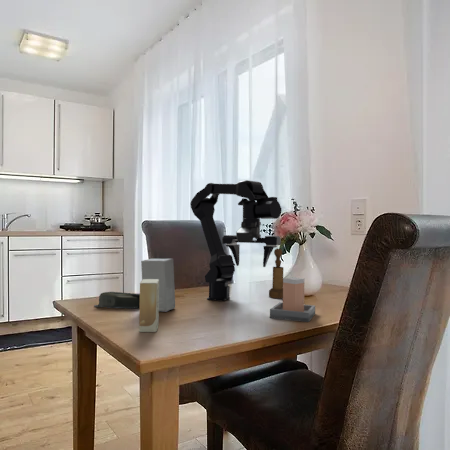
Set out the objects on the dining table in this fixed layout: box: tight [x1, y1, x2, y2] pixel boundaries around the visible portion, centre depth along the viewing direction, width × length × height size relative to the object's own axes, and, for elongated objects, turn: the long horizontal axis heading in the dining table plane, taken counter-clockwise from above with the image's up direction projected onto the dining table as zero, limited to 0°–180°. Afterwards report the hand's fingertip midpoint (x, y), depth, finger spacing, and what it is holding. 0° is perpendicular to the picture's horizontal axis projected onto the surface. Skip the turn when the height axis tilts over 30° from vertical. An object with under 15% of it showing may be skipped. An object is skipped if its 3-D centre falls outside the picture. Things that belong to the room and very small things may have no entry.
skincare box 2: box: [138, 279, 160, 333], centre depth 97 cm, size 6×4×12 cm
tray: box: [269, 301, 316, 323], centre depth 113 cm, size 11×11×2 cm
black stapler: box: [93, 291, 140, 310], centre depth 122 cm, size 5×3×15 cm
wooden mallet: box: [268, 248, 284, 299], centre depth 144 cm, size 7×6×18 cm
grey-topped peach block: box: [282, 276, 305, 312], centre depth 113 cm, size 4×4×10 cm
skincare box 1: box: [140, 258, 176, 313], centre depth 119 cm, size 8×7×16 cm
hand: (250, 266), depth 127 cm, fingers open, 9 cm apart
